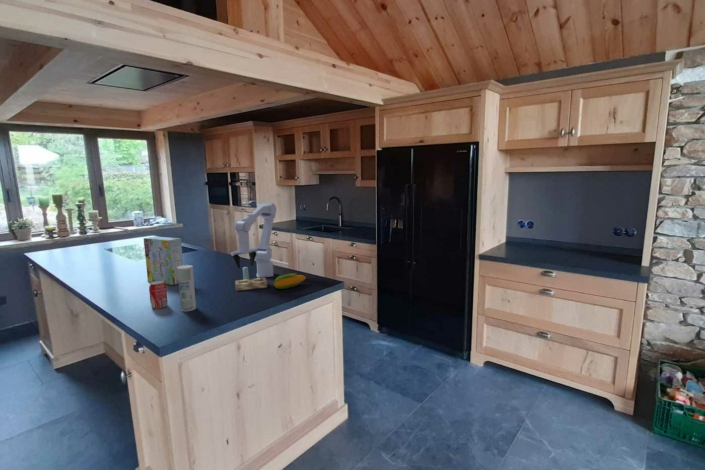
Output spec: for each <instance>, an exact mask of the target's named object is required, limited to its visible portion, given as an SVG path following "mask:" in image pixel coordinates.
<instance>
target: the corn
mask: <svg viewBox="0 0 705 470" xmlns="http://www.w3.org/2000/svg"><path fill="white" fill-rule="evenodd" d="M305 279H307V277H306V276H304V275H302V274H298V273H297V272H295V273H286V274H282V275H278V276H277V277H276V278H275V279H274V280H273V287H274V289H275V288H276V289H278V290H285V289H289V288H295V287H297V286H298V284H300V283H302V282H303V281H305Z"/></svg>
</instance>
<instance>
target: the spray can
mask: <svg viewBox="0 0 705 470" xmlns="http://www.w3.org/2000/svg"><path fill="white" fill-rule="evenodd" d="M177 272H178V282H179V284H178V289H179V291H178V292H179V299H180V300H179V301H180V309H181V311H182V312H191V311H195V310H196V309H197V306H196V305H197V303H196V291H195V281H194V280H195V278H194V266H193V265H192V264H190V265H189V264H185V265H184V264H183V266H179V267H177Z"/></svg>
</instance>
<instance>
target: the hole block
mask: <svg viewBox="0 0 705 470" xmlns="http://www.w3.org/2000/svg"><path fill="white" fill-rule="evenodd" d="M234 283H235V291H246V290H255V289H265V288H268V280H267V279H266V277H259V278H257V277H256V278H249V279H247V280H243V279H238V280H235V282H234Z"/></svg>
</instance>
